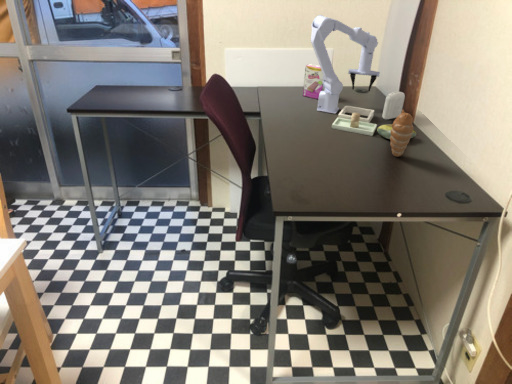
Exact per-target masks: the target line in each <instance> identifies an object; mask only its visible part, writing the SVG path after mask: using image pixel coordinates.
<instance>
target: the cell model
mask: <svg viewBox="0 0 512 384" xmlns="http://www.w3.org/2000/svg"><path fill="white" fill-rule="evenodd" d="M392 124H393V123H392ZM392 124H381V125H380V126H378V127H377V128H376V130H377V133H378V135H380V136H382V137H383V138H385V139H388V140H390V136H391V130H392ZM416 135H417V132H416V131H415V130H414V129H413V131H412V136H411V138H410V139H412V138H414V137H416Z"/></svg>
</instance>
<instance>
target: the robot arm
mask: <svg viewBox="0 0 512 384" xmlns="http://www.w3.org/2000/svg"><path fill="white" fill-rule="evenodd" d="M310 26H311V33H310V34H311V35H310V36H311V37H310V43H311V45H312V49H313V51H314V54H315V56H316V59H317V62H318V66H320V67H321V70H322V73H323V77H322V78H323V86H324V87H325V91H321V92H320V94H319V98H318V99H317V100H318V101H317V108H316V112H317V111H318V112H323V113H331V114H337V113H338V111H339V110H340V107H339V98H340V93H341V92H342V91H343V88H344V84H343V82H342V81H340V79H339V77H338V75H337V74H336V73H335V70H334V66H333V65H332V61H331V59H330V56H329V53H328V49H327V47H326V46H325V40H326V39H327V37H328V36H329V35H331V33H332V32H335V31H339V32H340V33H343V34H345V35H348V37H349V40H350V41H352V42H355V43H356V44H359V45H360V46H361V50H360V55H359V56H360V57H359V61H358V68H357V69H356V68H355V69H354V68H349V69H348V73H347V74H348V75H350V80H351V86H352V90H355V81H356V75H357V76H358V75H360V76H368V77H369V76H370V81H369V85H368V92H370V91H371V88H372V87H373V84H374V83H375V81H376V80H377V78H379V77H380V74H381V72H380V71H376V70H371V69H372V64H373V59H374V58H373V57H374V52H375V49H376V47H377V46H378V44H379V42H378V39H377V37H376V35H372V34H371V33H370V32H369V31H365V30H363V28H362V27H360V26H358V27H353V28H352V27H350V26H348V25H347V24H345V23H343V22H342V21H340V20H337V19H334V18H331V17H328V16H324V15H322V14H319V15H317V16H315V17H314V19H313V21H312V23H311V25H310Z"/></svg>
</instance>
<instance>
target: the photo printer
mask: <svg viewBox="0 0 512 384" xmlns="http://www.w3.org/2000/svg"><path fill="white" fill-rule="evenodd" d="M405 98H406V96H405V93H404V92H402V91H393V92H390V93H388V94H387V95H386V96H385V100H384V106H383V111H382V115H381V118H382V119H384V120H392V119H396V118H397V117H398V116H399V115H400V114H401V112H402V110H403V107H404V102H405Z"/></svg>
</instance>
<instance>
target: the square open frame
mask: <svg viewBox="0 0 512 384" xmlns="http://www.w3.org/2000/svg"><path fill="white" fill-rule="evenodd" d="M346 113H349V115H348V114H346ZM352 113H359V114H360V120H359V121H361V122H366V123H371V121H372V119H373V118H374V113H375V109H369V108H364V107H363V108H362V107H357V106H351V105H344V106H343V108H342V109H341V111H339V113H338V115H337V117H338V118H343V119H349V120H351V118H352V115H350V114H352ZM361 116H366V117H367V118H366V117H361Z"/></svg>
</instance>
